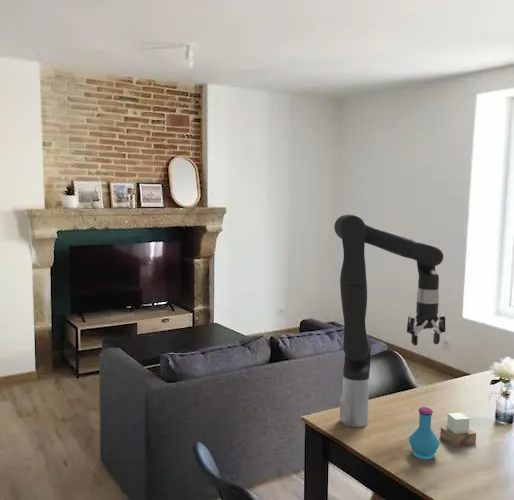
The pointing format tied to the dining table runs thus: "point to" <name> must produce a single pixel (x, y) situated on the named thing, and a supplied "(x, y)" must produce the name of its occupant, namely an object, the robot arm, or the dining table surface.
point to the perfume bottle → (424, 436)
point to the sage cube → (458, 423)
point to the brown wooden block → (458, 437)
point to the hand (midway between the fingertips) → (425, 344)
